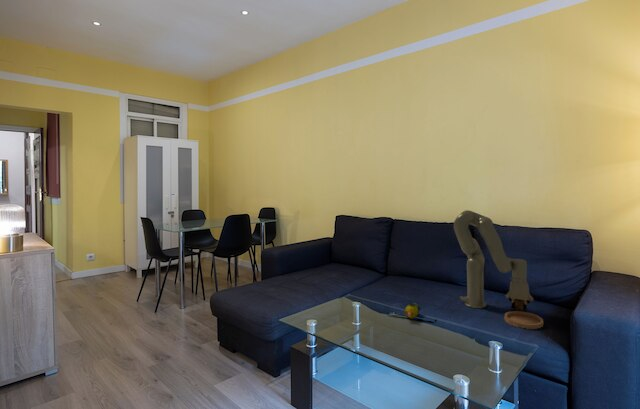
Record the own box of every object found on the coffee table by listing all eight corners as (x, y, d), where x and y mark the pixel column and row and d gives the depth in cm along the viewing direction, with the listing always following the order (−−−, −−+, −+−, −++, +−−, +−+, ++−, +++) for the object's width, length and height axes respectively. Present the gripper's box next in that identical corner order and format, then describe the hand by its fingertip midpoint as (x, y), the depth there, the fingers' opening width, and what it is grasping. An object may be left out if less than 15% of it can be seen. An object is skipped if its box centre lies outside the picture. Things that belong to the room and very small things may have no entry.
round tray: (503, 325, 187) (503, 321, 187) (504, 312, 204) (504, 309, 203) (544, 331, 178) (544, 327, 178) (542, 318, 194) (542, 314, 194)
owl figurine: (385, 304, 203) (392, 296, 216) (385, 318, 203) (392, 310, 217) (434, 311, 189) (438, 302, 203) (434, 327, 190) (438, 317, 203)
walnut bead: (514, 311, 205) (514, 299, 204) (514, 308, 209) (514, 296, 208) (524, 313, 202) (524, 300, 202) (523, 310, 207) (523, 298, 206)
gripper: (502, 280, 205) (502, 309, 207) (536, 283, 197) (536, 314, 198) (503, 276, 212) (503, 305, 213) (535, 279, 203) (535, 309, 205)
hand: (519, 309), depth 206 cm, fingers closed on walnut bead, 5 cm apart
